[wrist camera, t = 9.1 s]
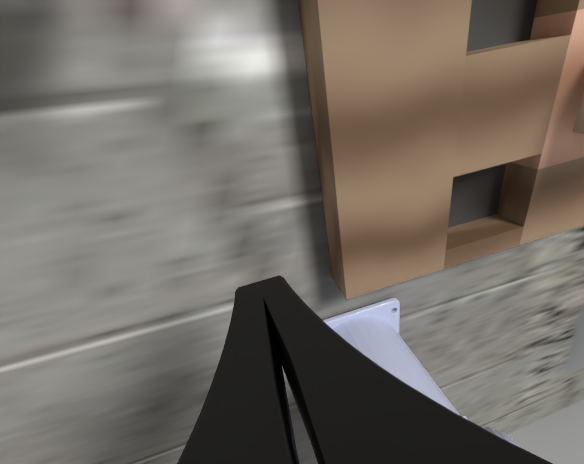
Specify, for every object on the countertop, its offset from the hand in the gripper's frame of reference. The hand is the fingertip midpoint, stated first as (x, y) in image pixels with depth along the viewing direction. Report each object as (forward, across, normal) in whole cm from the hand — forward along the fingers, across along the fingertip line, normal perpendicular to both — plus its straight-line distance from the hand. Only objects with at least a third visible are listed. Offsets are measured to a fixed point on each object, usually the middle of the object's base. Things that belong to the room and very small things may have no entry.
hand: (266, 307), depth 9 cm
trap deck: (+9, -16, -2) cm, 19 cm away
